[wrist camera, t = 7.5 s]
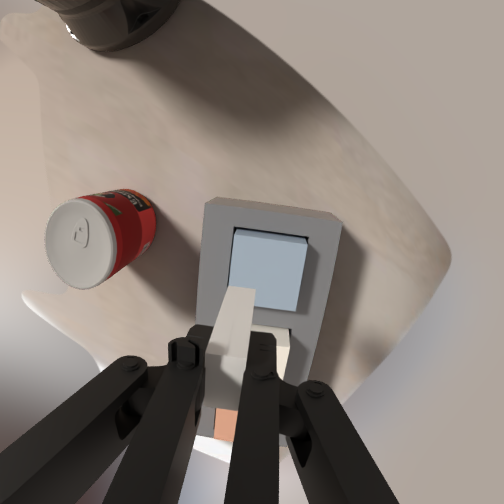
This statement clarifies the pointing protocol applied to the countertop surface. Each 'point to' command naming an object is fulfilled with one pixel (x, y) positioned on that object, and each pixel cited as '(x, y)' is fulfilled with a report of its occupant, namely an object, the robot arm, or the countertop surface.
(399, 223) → the countertop surface
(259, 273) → the slate key
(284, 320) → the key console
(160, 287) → the countertop surface
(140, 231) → the canned food
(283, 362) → the ivory key
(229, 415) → the terracotta key
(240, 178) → the countertop surface
